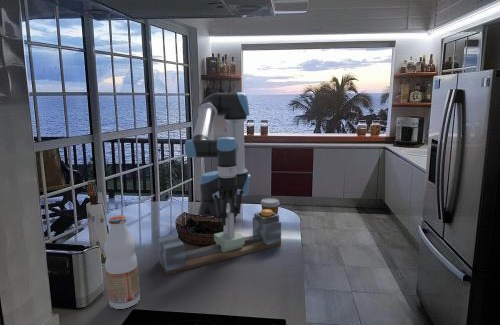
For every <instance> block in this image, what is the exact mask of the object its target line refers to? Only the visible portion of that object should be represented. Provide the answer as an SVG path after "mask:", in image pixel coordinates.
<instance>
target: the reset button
mask: <svg viewBox="0 0 500 325" xmlns="http://www.w3.org/2000/svg"><path fill="white" fill-rule="evenodd" d="M260 212H261V216H262V217H264V218H265V217H269V216H272V210H269V209H264V210H262V209H261V210H260Z"/></svg>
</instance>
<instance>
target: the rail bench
mask: <svg viewBox="0 0 500 325" xmlns="http://www.w3.org/2000/svg"><path fill="white" fill-rule="evenodd" d="M253 215H254V216H253V217H252V235H250V236H244V239H245V244H244V245H243V247H242V248H238V249H234V250H231V251H227V252H222V251H221V246H220V245H219V244H218V245H216V244H212V245H208V246H202V247H200V248H195V249H190V250H187V251H186V245H185V244H184V242H183V241H182V240H181V239H180V238H179V237H178V236H177V235H176V234H174V233H173V234H168V235H163V236H159V237H156V245H157V246H156V247H157V259H158V261H159V262H160V263H159V262H158V263H159V265H160V264H161V265H162V266H161V265H160V266H161V268H162V269H163V268H164V269H165V270H164V269H163V270H164V272H165V271H166V272H167V273H166V272H165V273H166V274H167V275H168V274H169V275H171V274H170V273H172V274H175V273H174V272H176V273H179V272H178V271H180V272H183V271H182V270H184V271H186V269H187V270H190V268H191V269H194V268H199V267H202V266H205V265H210V264H214V263H217V262H221V261H224V260H228V259H231V258H235V257H239V256H244V255H246V254H247V255H248V254H252V253H254V252H258V251H261V250H262V251H263V250H265V249H270V248H273V247H278V246H281V245H282V222H281V221H280V215H279V214H278V215H277V214H275V213H273V212H272V216H269V217H265V218H264V217H262V216H261V211H260V212H255V213H253Z"/></svg>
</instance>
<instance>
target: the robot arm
mask: <svg viewBox="0 0 500 325" xmlns="http://www.w3.org/2000/svg"><path fill="white" fill-rule="evenodd" d="M249 108H250V107H249V100H248V95H247V93H245V92H239V91H238V92H237V91H236V92H213V93H212V94H209V95H208V96H206V97H205V98H204V99H203V100H201V102H200V104H199V105H198V109H197V115H198V117H197V120H196V124H195V127H194V131H193V135H192V138H191V139H187V140H185V142H184V154H185V157H186V158H195V159H197V158H198V159H199V158H216V159H217V160H216V161H217V170H215V171H214V170H213V171H207V172H205V173H203V174H201V175H200V177H199V180H200V182H199V185H200V186H199V187H200V204H199V208H198V211H197V212H198V214H197V215H202V216H214V217H220V218H219V219H220V220H221V225H222V226H223V227H224V228H223V232H225V233H226V234H227V233H228V218H227V217H226V210H227V207H228V206H227V205H228V204H229V211H230V212H232V213H234V224H236V223H237V220H236V217H237V216H238V215H240V214H241V206H242V197H245V196H248V195H249V191H250V183H251V174H250V173H249V172H248V169H247V168H246V165H245V164H246V163H245V162H246V160H245V159H246V158H245V155H246V154H245V121H246V120H248V119H247V118H248V116H250V109H249ZM217 117H223V120H224V121H225V122H226V126H227V127H226V129H227V136H221V137H218V138H217V139H211V136H212V130H213V126H214V121H215V119H216V118H217ZM228 201H229V202H228Z"/></svg>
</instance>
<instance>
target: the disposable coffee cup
mask: <svg viewBox="0 0 500 325" xmlns="http://www.w3.org/2000/svg"><path fill="white" fill-rule="evenodd" d="M280 204H281V203H280V200H279V199H278V198H275V197H266V198H263V199H261V200H260V205H261V210H264V209H269V210H272V212H273V213H275V214H277V215H279V214H278V213H279V206H280Z"/></svg>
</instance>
